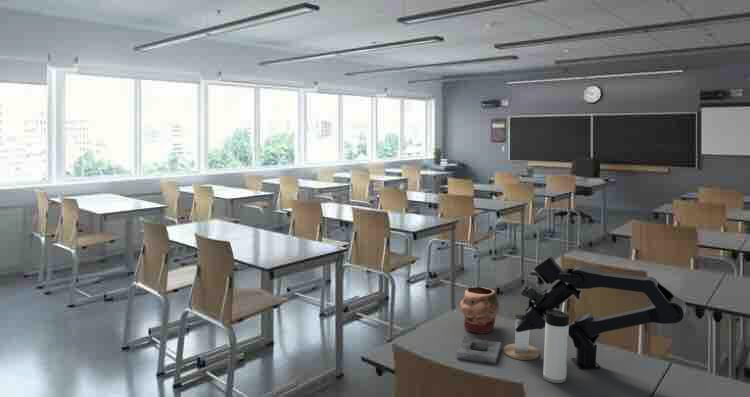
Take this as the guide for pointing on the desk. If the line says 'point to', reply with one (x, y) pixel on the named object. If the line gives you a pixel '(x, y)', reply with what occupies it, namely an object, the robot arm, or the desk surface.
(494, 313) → the decorative planter
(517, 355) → the walnut coaster
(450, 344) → the desk surface
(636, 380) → the desk surface
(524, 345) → the grey square bar
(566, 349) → the travel mug
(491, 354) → the grey flat square frame
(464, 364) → the desk surface
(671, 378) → the desk surface
